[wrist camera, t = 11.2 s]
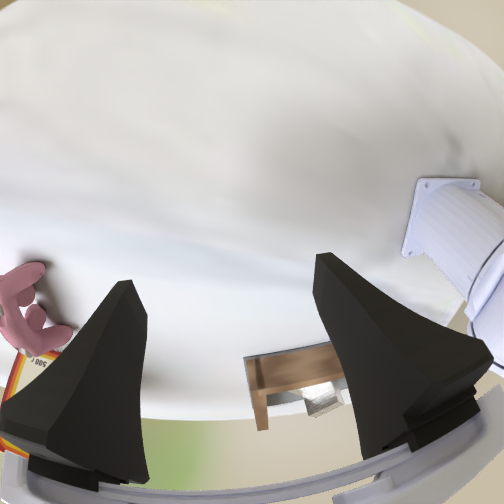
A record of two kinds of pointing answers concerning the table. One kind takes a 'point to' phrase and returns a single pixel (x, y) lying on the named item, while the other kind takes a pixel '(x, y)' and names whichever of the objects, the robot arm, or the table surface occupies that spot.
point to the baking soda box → (18, 379)
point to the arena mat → (287, 396)
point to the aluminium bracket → (320, 397)
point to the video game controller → (27, 313)
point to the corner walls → (289, 375)
